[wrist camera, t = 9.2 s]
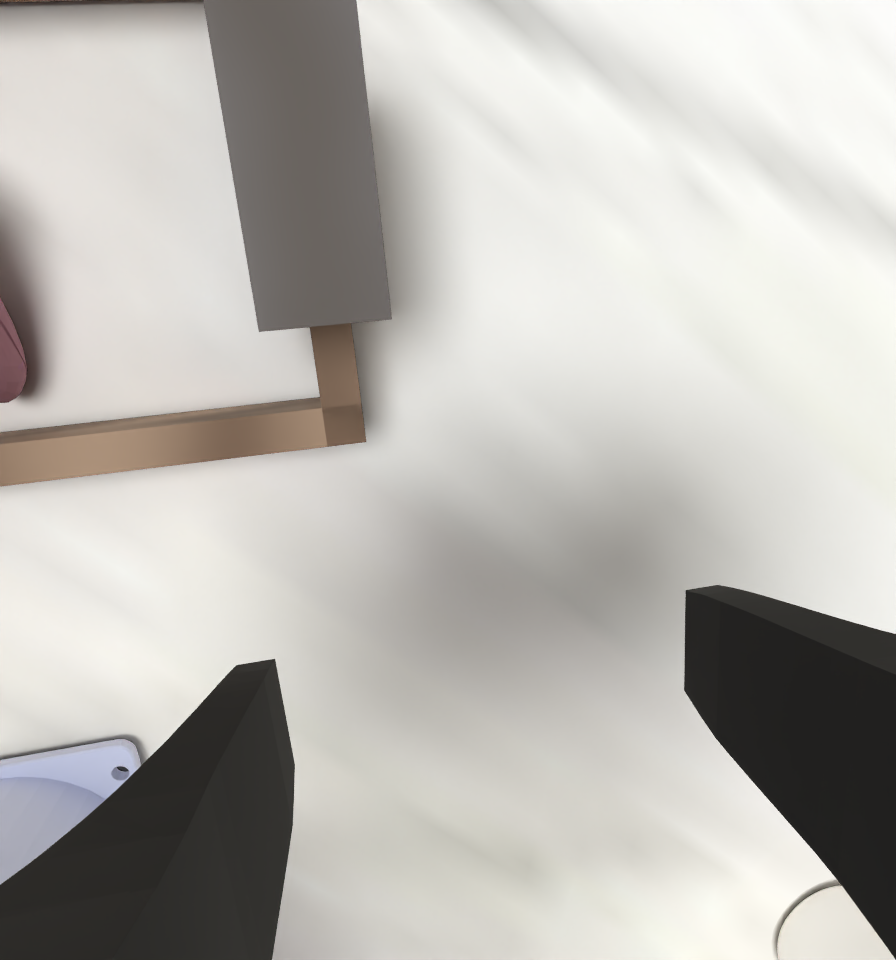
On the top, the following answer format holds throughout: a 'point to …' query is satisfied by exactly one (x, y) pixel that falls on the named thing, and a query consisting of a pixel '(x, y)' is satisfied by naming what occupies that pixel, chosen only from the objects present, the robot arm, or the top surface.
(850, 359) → the top surface
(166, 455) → the sliding frame
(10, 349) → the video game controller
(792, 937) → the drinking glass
